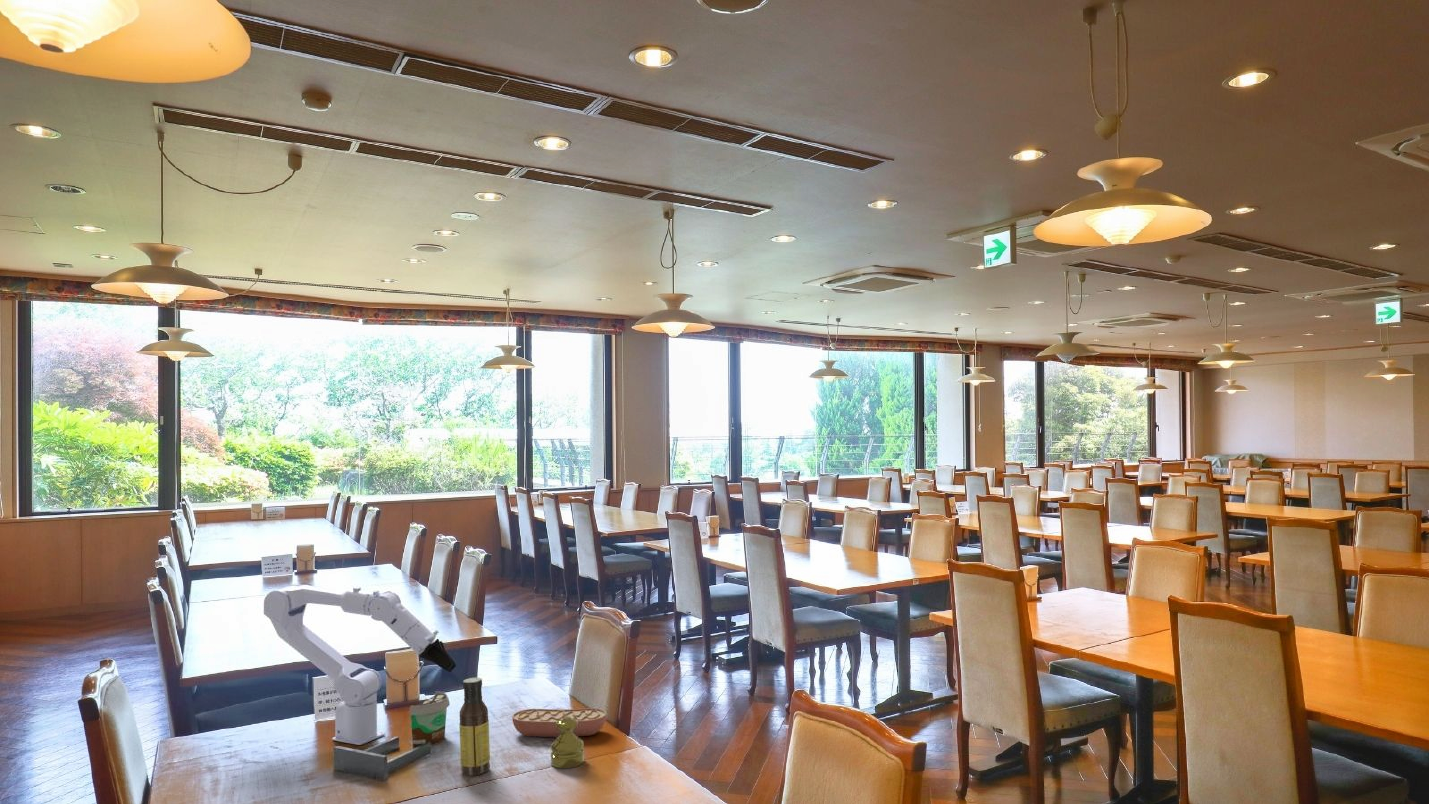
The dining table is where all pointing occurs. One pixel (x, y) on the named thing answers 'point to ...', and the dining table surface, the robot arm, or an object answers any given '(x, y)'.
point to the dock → (376, 759)
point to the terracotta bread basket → (545, 720)
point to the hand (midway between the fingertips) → (451, 668)
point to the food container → (429, 720)
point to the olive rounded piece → (567, 745)
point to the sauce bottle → (474, 730)
